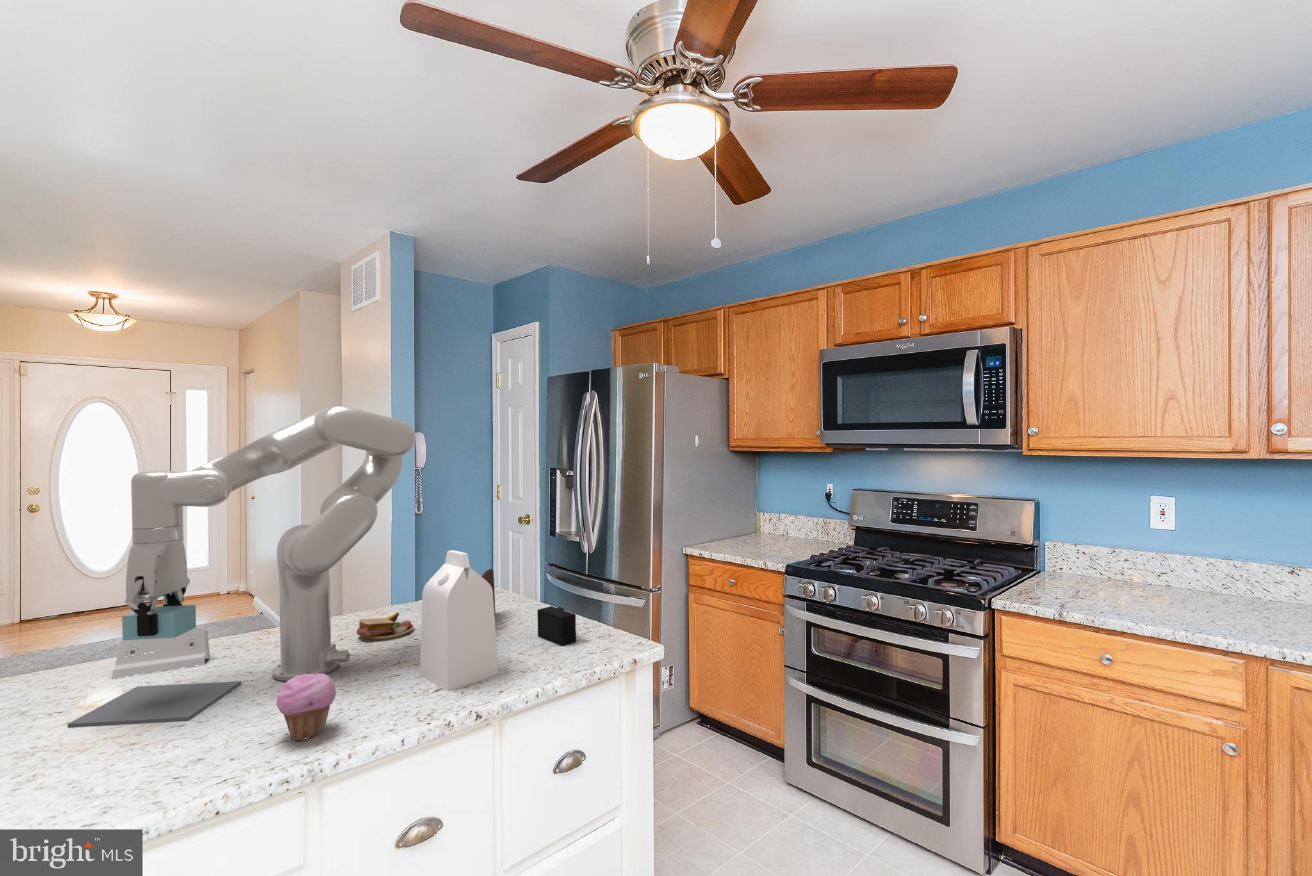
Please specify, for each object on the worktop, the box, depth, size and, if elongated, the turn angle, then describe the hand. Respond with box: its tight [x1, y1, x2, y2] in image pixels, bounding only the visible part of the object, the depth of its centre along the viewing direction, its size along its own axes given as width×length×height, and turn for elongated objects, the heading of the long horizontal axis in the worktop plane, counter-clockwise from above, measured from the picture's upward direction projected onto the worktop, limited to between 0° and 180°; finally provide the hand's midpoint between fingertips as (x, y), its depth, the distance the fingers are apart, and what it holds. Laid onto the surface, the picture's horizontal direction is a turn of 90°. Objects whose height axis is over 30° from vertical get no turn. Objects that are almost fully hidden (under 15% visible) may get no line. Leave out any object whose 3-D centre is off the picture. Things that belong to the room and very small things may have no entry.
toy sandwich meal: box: [356, 611, 415, 642], centre depth 155 cm, size 12×14×5 cm
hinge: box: [111, 625, 211, 680], centre depth 134 cm, size 17×5×10 cm, turn 116°
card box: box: [121, 604, 197, 640], centre depth 115 cm, size 6×9×4 cm, turn 96°
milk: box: [419, 549, 499, 692], centre depth 127 cm, size 12×12×26 cm
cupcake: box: [276, 673, 337, 742], centre depth 102 cm, size 9×9×10 cm
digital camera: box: [537, 605, 577, 647], centre depth 149 cm, size 10×5×7 cm, turn 45°
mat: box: [67, 680, 242, 728], centre depth 115 cm, size 20×16×1 cm
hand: (160, 628), depth 115 cm, fingers closed on card box, 6 cm apart
